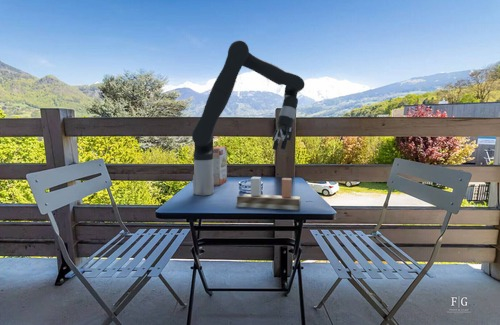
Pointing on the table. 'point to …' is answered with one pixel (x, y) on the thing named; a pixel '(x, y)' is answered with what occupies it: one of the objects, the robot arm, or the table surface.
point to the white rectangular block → (255, 186)
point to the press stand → (269, 202)
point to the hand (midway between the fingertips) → (278, 149)
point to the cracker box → (219, 165)
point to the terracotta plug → (286, 187)
